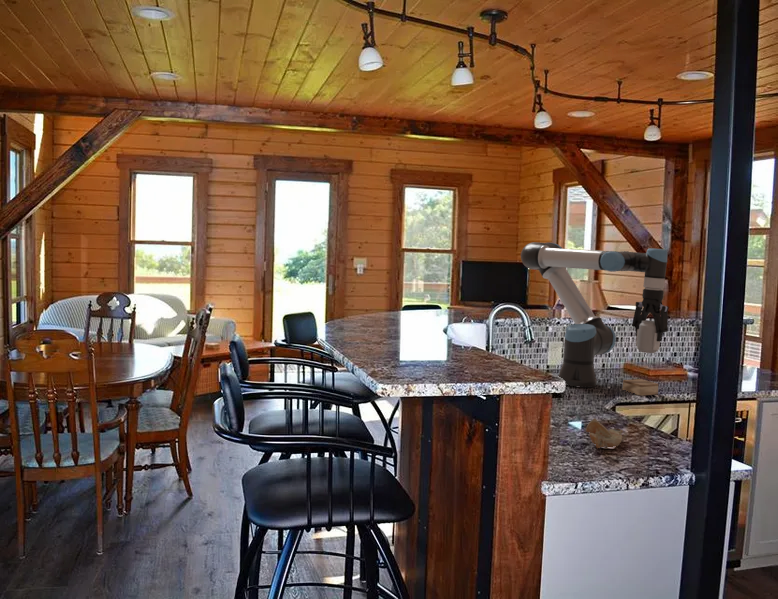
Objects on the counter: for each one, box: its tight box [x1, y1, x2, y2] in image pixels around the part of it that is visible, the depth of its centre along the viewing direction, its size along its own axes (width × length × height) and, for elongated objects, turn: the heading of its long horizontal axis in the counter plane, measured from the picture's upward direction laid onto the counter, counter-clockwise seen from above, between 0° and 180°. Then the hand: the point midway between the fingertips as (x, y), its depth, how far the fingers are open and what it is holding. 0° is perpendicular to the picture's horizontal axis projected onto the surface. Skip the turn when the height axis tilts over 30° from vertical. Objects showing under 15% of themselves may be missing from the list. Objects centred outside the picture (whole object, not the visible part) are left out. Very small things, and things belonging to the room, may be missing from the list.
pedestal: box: [622, 378, 659, 397], centre depth 270 cm, size 9×9×4 cm
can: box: [636, 319, 658, 354], centre depth 273 cm, size 8×8×12 cm
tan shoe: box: [585, 417, 624, 449], centre depth 196 cm, size 9×21×10 cm, turn 143°
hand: (647, 347), depth 273 cm, fingers closed on can, 7 cm apart
